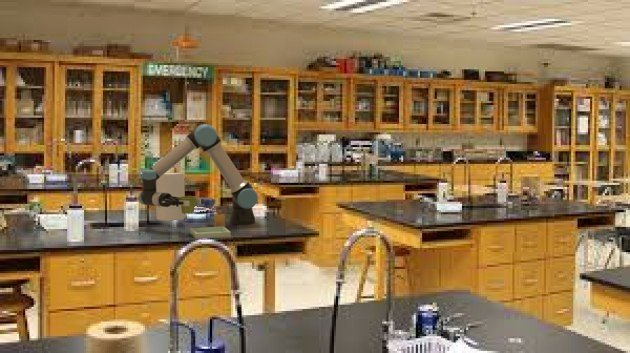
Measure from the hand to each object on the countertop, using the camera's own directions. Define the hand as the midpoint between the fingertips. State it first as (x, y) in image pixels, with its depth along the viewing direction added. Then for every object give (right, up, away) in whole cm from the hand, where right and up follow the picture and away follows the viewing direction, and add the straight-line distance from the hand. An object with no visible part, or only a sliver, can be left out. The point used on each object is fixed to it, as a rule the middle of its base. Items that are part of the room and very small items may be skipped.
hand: (194, 202), depth 361 cm
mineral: (-8, -10, +84) cm, 85 cm away
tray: (+8, -18, +2) cm, 19 cm away
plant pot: (-4, -6, +3) cm, 8 cm away
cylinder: (-25, -12, +60) cm, 66 cm away
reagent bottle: (+10, -16, +19) cm, 27 cm away
